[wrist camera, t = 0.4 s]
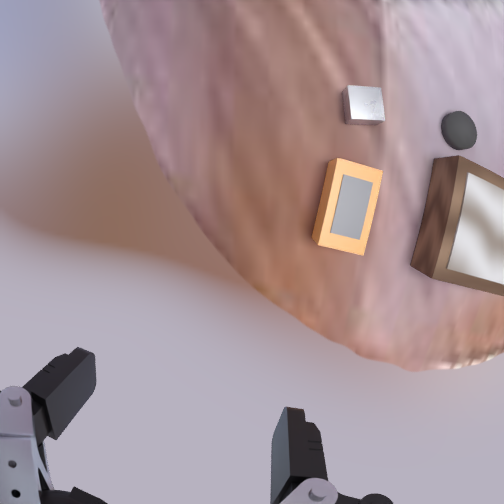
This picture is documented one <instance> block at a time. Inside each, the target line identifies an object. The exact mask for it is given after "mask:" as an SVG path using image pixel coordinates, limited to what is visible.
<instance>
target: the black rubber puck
mask: <svg viewBox="0 0 504 504" xmlns="http://www.w3.org/2000/svg"><path fill="white" fill-rule="evenodd" d="M441 129H442V134H443V137H444V139H445V141H446V142H447V143H448V145H449V146H451V147H452V148H454V149H456V150H462V149H468V148H471V147H472V146H473V145H474V144H475V142H476V139H477V131H476V127H475V124H474V122H473V120H472V119H471V118H470V117H469V116H468V115H467V114H466V113H464V112H462V111H456V112H453V113H450V114H448V115H446V116H445V117H444V118H443V120H442V125H441Z"/></svg>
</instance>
